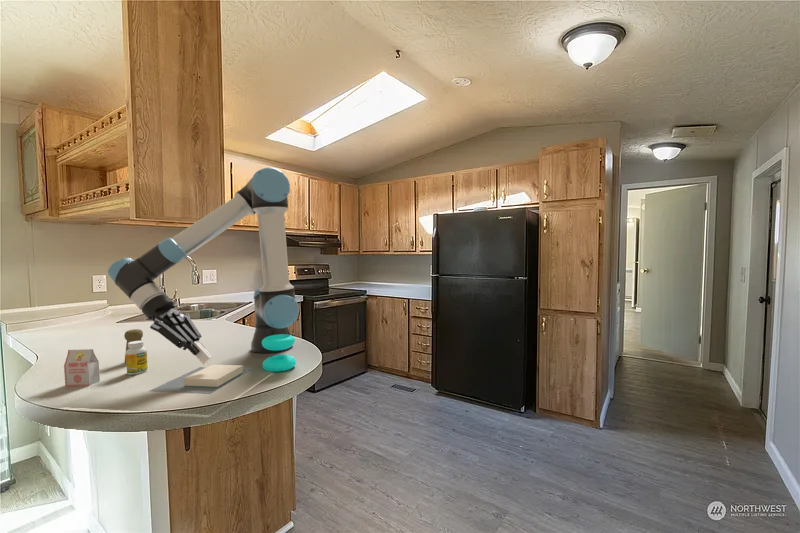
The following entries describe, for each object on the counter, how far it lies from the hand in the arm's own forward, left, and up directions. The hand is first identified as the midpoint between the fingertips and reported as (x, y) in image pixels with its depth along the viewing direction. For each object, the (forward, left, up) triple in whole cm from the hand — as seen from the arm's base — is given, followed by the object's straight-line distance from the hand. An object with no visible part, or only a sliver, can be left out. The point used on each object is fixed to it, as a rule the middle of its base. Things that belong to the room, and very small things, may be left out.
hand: (208, 360), depth 106 cm
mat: (+1, -2, -6) cm, 6 cm away
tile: (+2, -3, -4) cm, 5 cm away
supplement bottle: (+13, -26, -6) cm, 29 cm away
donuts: (-19, +4, -6) cm, 21 cm away
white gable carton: (+26, -26, -6) cm, 37 cm away
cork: (+11, -41, -6) cm, 43 cm away
